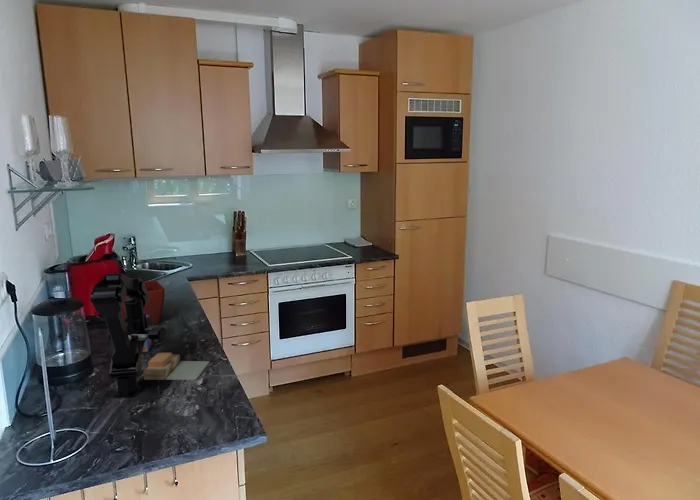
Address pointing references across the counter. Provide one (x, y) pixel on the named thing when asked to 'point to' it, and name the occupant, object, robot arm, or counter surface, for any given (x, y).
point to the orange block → (160, 360)
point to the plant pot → (151, 302)
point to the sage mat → (188, 370)
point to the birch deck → (162, 369)
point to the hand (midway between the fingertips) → (139, 355)
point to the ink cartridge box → (148, 341)
